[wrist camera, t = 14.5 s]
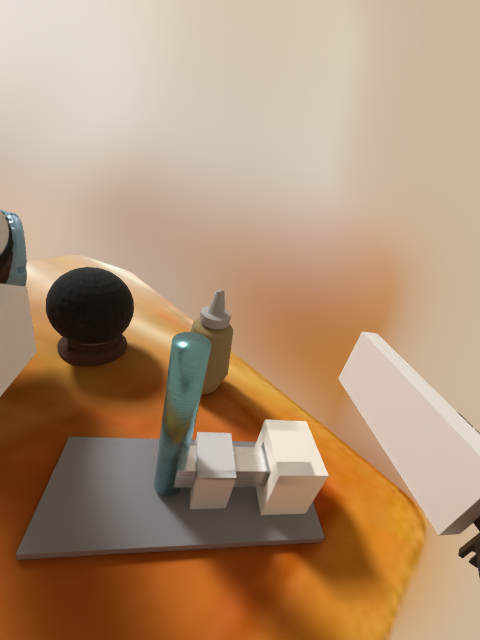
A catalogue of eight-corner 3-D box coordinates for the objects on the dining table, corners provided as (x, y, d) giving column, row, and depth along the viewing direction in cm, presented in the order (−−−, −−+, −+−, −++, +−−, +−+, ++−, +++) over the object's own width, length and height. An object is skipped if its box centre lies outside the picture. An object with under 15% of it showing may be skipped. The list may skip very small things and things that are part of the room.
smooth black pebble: (83, 321, 58) (80, 250, 51) (144, 338, 57) (149, 269, 50) (31, 356, 46) (17, 271, 39) (106, 378, 45) (106, 296, 38)
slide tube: (152, 496, 30) (170, 352, 21) (155, 468, 33) (173, 330, 24) (285, 494, 34) (351, 370, 25) (279, 469, 36) (335, 348, 27)
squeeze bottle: (232, 392, 49) (257, 301, 41) (190, 406, 44) (209, 306, 36) (210, 364, 54) (228, 279, 46) (171, 374, 50) (183, 280, 41)
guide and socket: (17, 559, 25) (-1, 507, 21) (69, 441, 35) (64, 391, 31) (321, 542, 31) (352, 500, 28) (291, 447, 42) (310, 406, 38)
